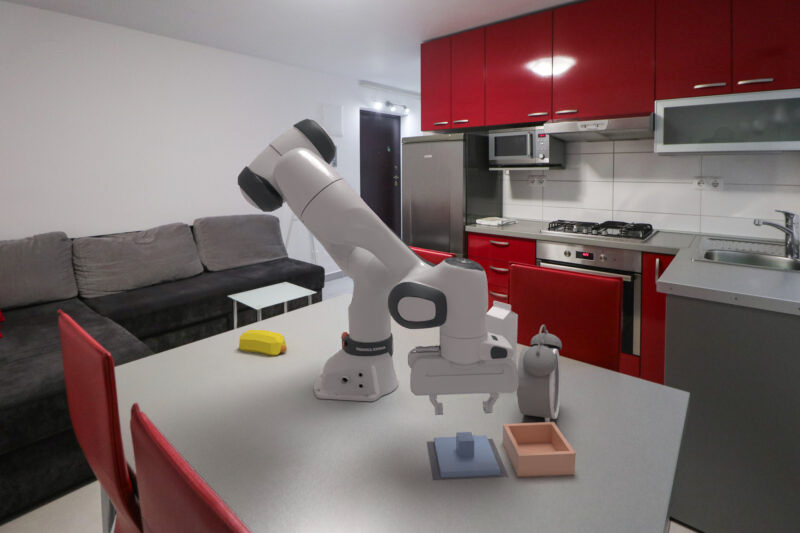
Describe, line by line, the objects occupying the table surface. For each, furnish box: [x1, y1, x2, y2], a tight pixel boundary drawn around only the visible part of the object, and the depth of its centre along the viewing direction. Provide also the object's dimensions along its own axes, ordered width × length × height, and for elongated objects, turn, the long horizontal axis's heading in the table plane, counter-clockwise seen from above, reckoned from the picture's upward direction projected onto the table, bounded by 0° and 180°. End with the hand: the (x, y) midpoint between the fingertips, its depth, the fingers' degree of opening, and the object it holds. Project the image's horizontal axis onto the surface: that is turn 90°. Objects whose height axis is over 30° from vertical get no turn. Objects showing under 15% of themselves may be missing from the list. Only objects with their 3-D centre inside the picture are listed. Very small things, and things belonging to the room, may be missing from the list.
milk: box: [486, 300, 519, 364], centre depth 120 cm, size 6×6×22 cm
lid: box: [433, 431, 500, 478], centre depth 88 cm, size 11×11×5 cm
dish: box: [502, 421, 577, 478], centre depth 88 cm, size 11×11×5 cm
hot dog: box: [238, 329, 288, 357], centre depth 145 cm, size 18×7×8 cm
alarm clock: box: [516, 324, 563, 422], centre depth 102 cm, size 16×9×22 cm, turn 154°
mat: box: [426, 438, 509, 481], centre depth 89 cm, size 14×12×1 cm
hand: (463, 412), depth 86 cm, fingers open, 8 cm apart
